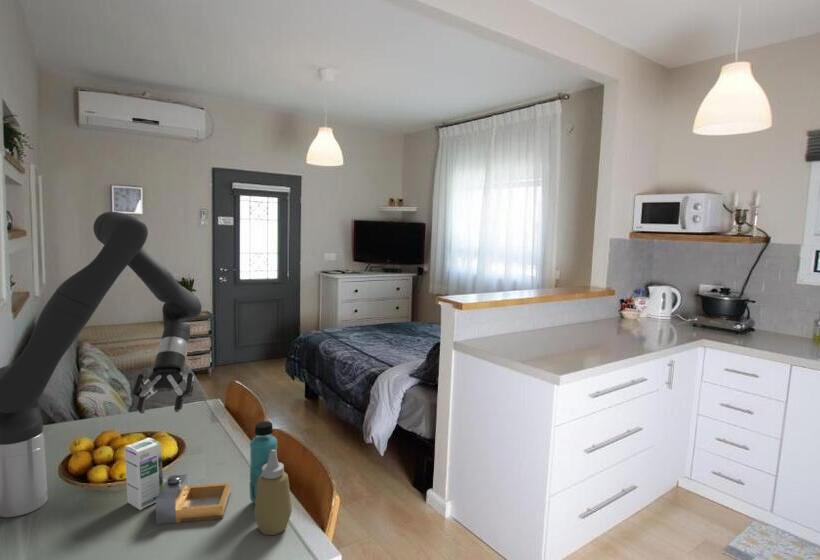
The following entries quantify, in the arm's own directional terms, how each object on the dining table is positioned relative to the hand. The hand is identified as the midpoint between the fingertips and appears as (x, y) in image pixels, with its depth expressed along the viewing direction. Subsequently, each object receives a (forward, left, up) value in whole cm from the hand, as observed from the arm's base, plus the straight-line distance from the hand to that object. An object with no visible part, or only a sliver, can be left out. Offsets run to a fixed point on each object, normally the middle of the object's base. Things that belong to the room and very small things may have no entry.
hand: (159, 411), depth 122 cm
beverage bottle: (+28, -16, -18) cm, 37 cm away
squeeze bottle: (+31, -26, -18) cm, 44 cm away
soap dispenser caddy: (+13, -16, -18) cm, 27 cm away
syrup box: (0, -11, -18) cm, 21 cm away
